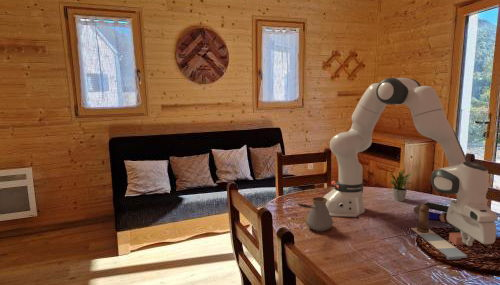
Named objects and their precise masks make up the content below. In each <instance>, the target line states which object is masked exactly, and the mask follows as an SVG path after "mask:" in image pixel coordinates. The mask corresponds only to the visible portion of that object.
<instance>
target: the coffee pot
mask: <svg viewBox="0 0 500 285" xmlns="http://www.w3.org/2000/svg"><path fill="white" fill-rule="evenodd" d="M323 197H324V196H323ZM323 197H322V196H317V197H316V196H315V197H312V198H311V201H312V206H311V205H309V204H306V203H304V204H303V203H298V204H296V205H295V207H297V206H299V207H300V208H298V210H299V209H301V208H302V207H303V208H306V209H307V208H308V209H310V211H309V212H308V215H307V217H306V219H305V223H306V225H307V226H308V227H309V228H310V229H311V230H312V229H313V230H312V231H314V230H316V231H315V232H326V231H328V230H329V229H330V228H331V227H332V226H333V223H334V220H333V219H332V216H330V214H329V211H328V209H327V207H326V202H327V199H326V198H323Z"/></svg>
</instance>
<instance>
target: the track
mask: <svg viewBox="0 0 500 285" xmlns="http://www.w3.org/2000/svg"><path fill="white" fill-rule="evenodd" d="M410 229H411V230H412V231H414V232H415V233H416V234H417V235H419V236H420V237H421V238H423V239H424V240H425V241H427V242H428V243H429V244H430V245H432V246H433V247H434V248H436V249H437V251H440V252H441V253H442V254H444V255H443V257H444V259H447V260H449V261H451V260H462V259H461V258H467V259H468V255H467V254H465V253H464V252H463V251H462V250H460V249H459V248H457V247H455V246H454V245H453V244H451V243H450V242H448V241H447V240H446V239H444V238H443V237H442V236H440V235H438V234H437V233H436V232H434V231H433V230H432V229H430V228H429V232H428V233H421V232H418V231H417V227H411V228H410Z"/></svg>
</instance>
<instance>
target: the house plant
mask: <svg viewBox="0 0 500 285" xmlns="http://www.w3.org/2000/svg"><path fill="white" fill-rule="evenodd" d="M397 171H398V176H397V177H396V176H395V175H394V173H392V172H391V171H389V173H390V174H389V176H391V177H392V181H391V180H389V182H388V183H389V184H390V183H391V184H392V185H393V186H392V189H391V190H392V196H393V197H392V198H393V200H394V201H396V202H405V199H406V197H407V196H406V194H407V191H408V188H407V185H410V184H412V185H413V182H408V180H409V179H410V177H412V173H413V171H411V172H409V173H407V174H406V175H404V171H403V170H400V171H399V170H397Z"/></svg>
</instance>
